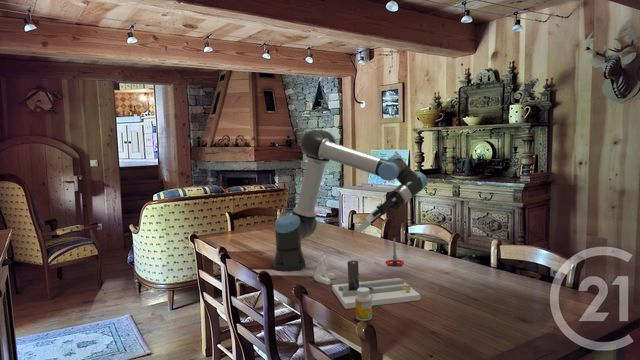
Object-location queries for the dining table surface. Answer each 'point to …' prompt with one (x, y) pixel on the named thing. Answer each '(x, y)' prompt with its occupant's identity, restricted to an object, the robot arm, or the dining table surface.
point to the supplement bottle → (363, 304)
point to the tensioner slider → (354, 278)
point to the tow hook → (394, 258)
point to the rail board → (379, 292)
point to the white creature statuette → (323, 270)
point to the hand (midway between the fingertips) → (362, 225)
